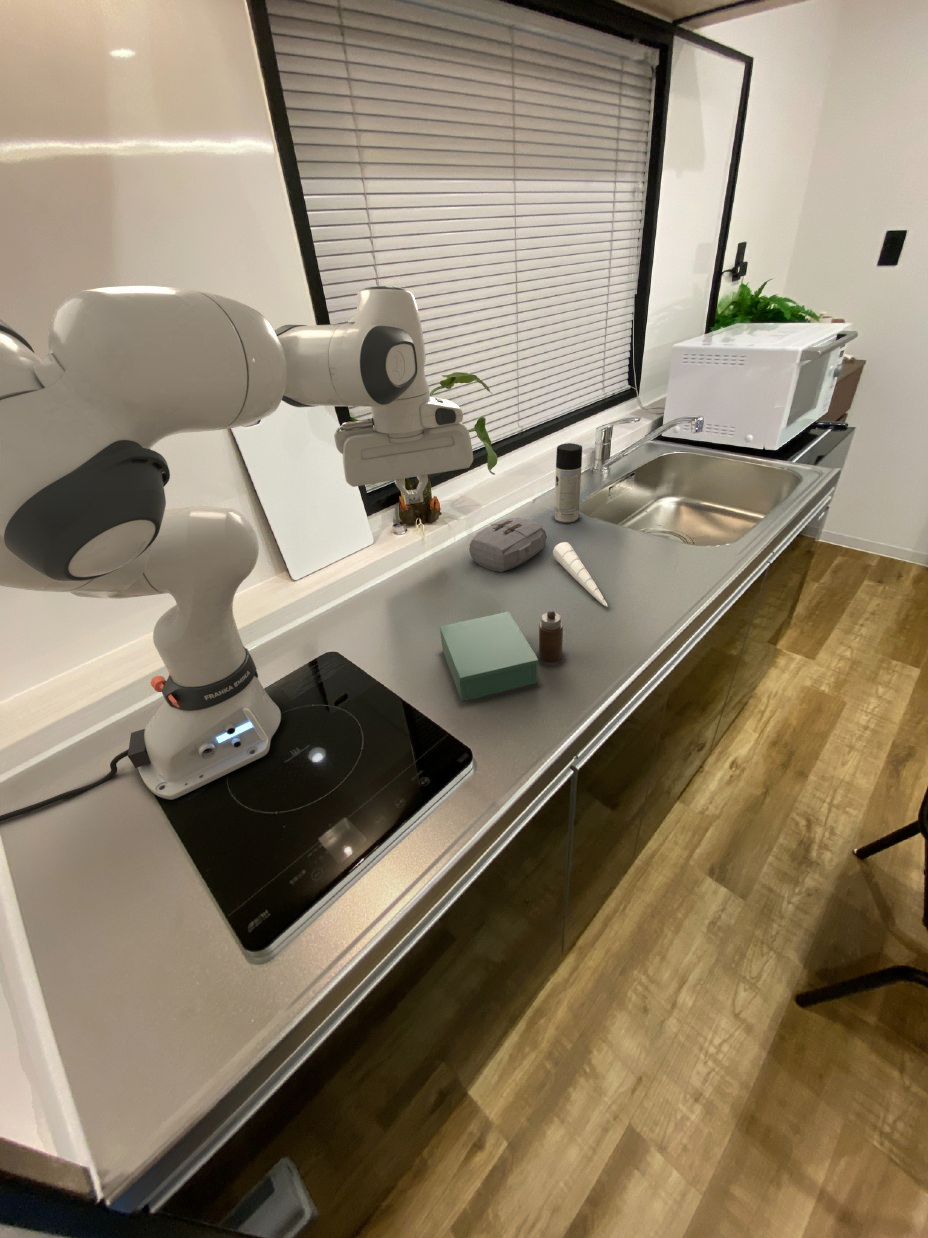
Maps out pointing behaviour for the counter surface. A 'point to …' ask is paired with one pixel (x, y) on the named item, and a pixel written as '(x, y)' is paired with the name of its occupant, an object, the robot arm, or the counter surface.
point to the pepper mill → (550, 637)
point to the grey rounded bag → (507, 543)
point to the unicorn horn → (577, 569)
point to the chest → (490, 679)
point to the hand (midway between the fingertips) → (414, 502)
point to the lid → (487, 646)
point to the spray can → (568, 482)
